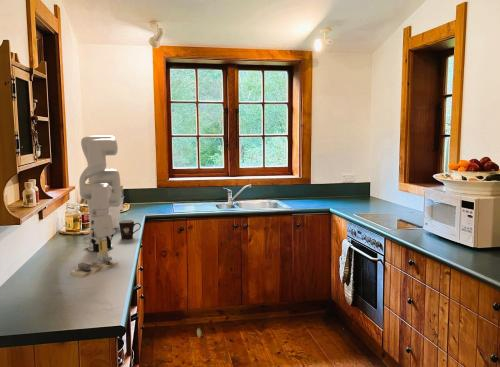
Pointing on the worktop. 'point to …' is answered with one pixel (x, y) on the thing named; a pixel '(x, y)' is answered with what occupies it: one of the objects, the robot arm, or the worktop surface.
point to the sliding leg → (103, 251)
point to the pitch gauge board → (92, 268)
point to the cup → (115, 215)
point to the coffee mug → (127, 228)
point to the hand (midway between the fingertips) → (102, 249)
